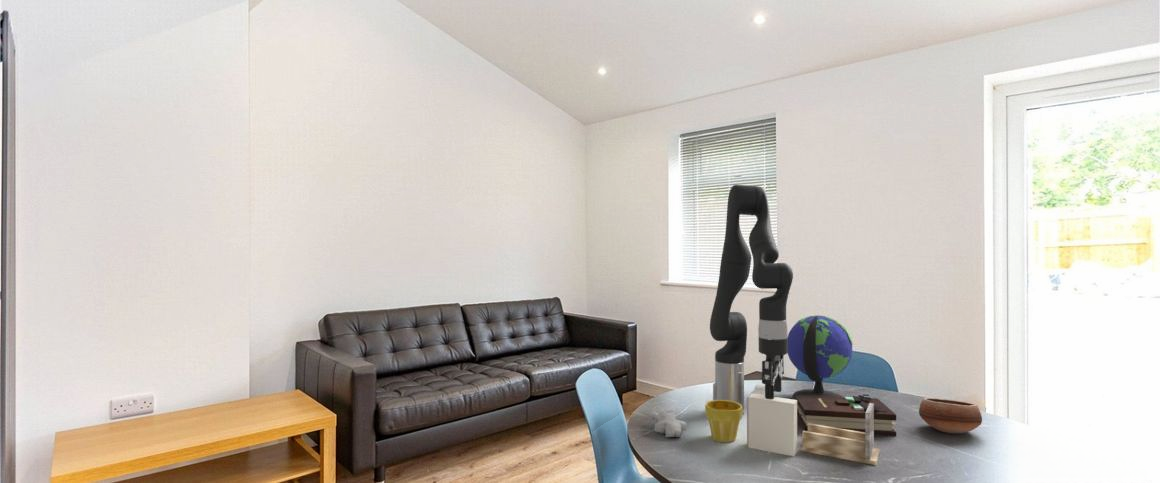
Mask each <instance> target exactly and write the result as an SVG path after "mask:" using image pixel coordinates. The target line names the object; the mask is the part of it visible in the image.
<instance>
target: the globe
mask: <svg viewBox="0 0 1160 483" xmlns="http://www.w3.org/2000/svg"><path fill="white" fill-rule="evenodd" d="M787 340H788V352H787V355H788V359H789V361H790V362H791V363H792V365H793V366H794V367H795V368H796V370H798V371H799V372H800V373H802V374H804V375H805V376H807V377H808V379H809V380H810V381H812V382H814V387H813V388H808V389H807V388H806V389H800V390H797V391H795V392H793V394H792V399H793V400H795V394H797V395H817V396H837V397H843V396H842V395H841V394H839V393H837V392H833V391H831V390H826V389H825V388H824V385H823V379H829V378H833V377H835V376H838V375H839V374H840V373H842V372H843V371H844V370H845V369H847V367H848V365H849V364H850V363H851V360H852V357H853V351H854V350H853V345H854V343H853V342H854V341H853V339H852V337H851V334H850V333H849V331H848V330H847V328H846V327H845V326H844V325H843V324H842V323H841V322H839V321H838V320H836V319H834V318H832V317H829V316H825V315H818V314H817V315H809V316H806V317H804V318H800V319H799V320H798V321H796V322H795V324H794V325H793V327H791V329H790V330H789V332H788V333H787Z"/></svg>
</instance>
